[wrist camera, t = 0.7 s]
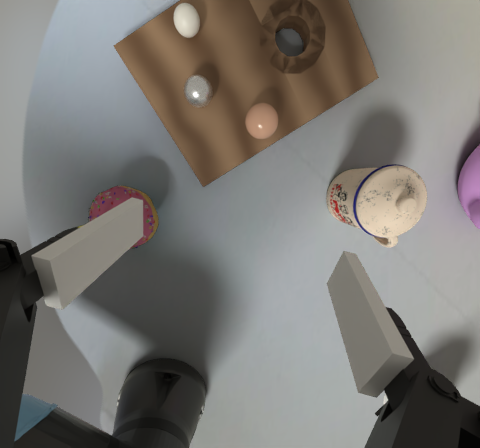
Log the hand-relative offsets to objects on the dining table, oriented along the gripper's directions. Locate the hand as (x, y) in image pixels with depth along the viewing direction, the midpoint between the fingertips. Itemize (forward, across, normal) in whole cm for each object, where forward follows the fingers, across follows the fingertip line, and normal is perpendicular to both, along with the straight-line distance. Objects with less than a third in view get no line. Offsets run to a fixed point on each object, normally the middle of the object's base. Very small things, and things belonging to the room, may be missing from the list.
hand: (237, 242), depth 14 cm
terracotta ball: (+19, +1, -6) cm, 20 cm away
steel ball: (+18, +10, -8) cm, 22 cm away
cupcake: (+17, +17, +10) cm, 26 cm away
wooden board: (+25, +5, -12) cm, 28 cm away
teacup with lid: (+24, -16, +3) cm, 29 cm away
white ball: (+20, +12, -15) cm, 28 cm away
